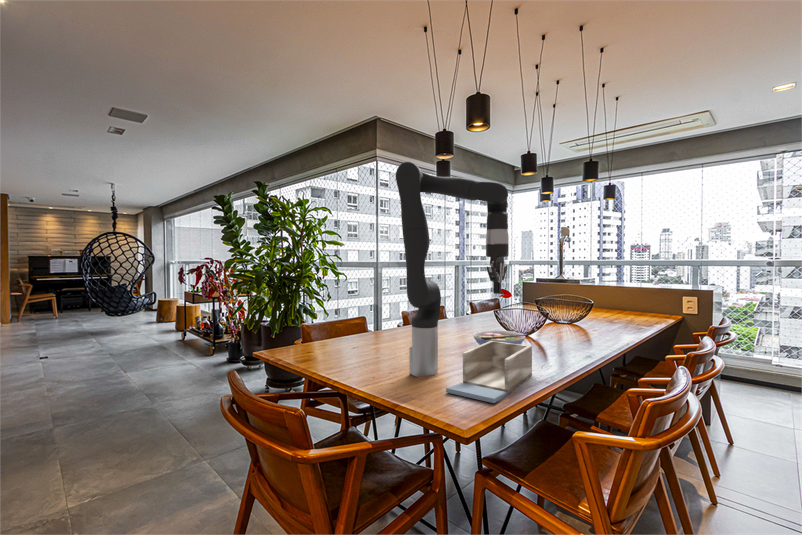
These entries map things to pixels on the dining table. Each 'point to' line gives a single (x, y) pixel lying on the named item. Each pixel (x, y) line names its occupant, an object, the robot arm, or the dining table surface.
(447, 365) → the dining table surface
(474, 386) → the grey panel
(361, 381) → the dining table surface
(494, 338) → the ramen bowl
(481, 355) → the crate
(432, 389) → the dining table surface
